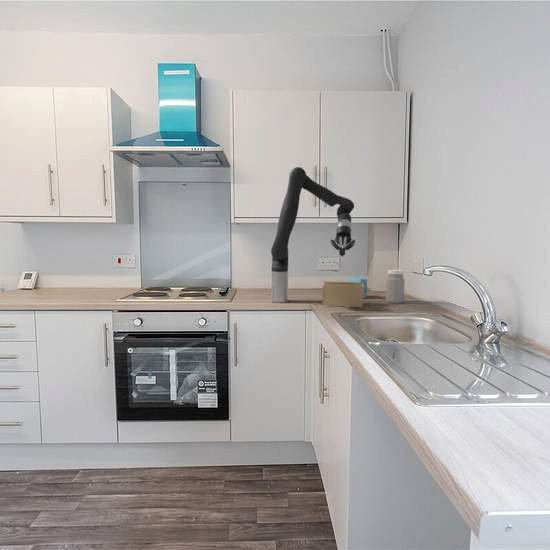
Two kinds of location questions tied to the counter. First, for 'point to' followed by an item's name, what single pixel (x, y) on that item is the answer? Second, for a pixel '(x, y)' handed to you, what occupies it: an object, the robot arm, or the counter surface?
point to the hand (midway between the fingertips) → (342, 255)
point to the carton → (343, 295)
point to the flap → (342, 283)
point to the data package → (362, 280)
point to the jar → (395, 286)
